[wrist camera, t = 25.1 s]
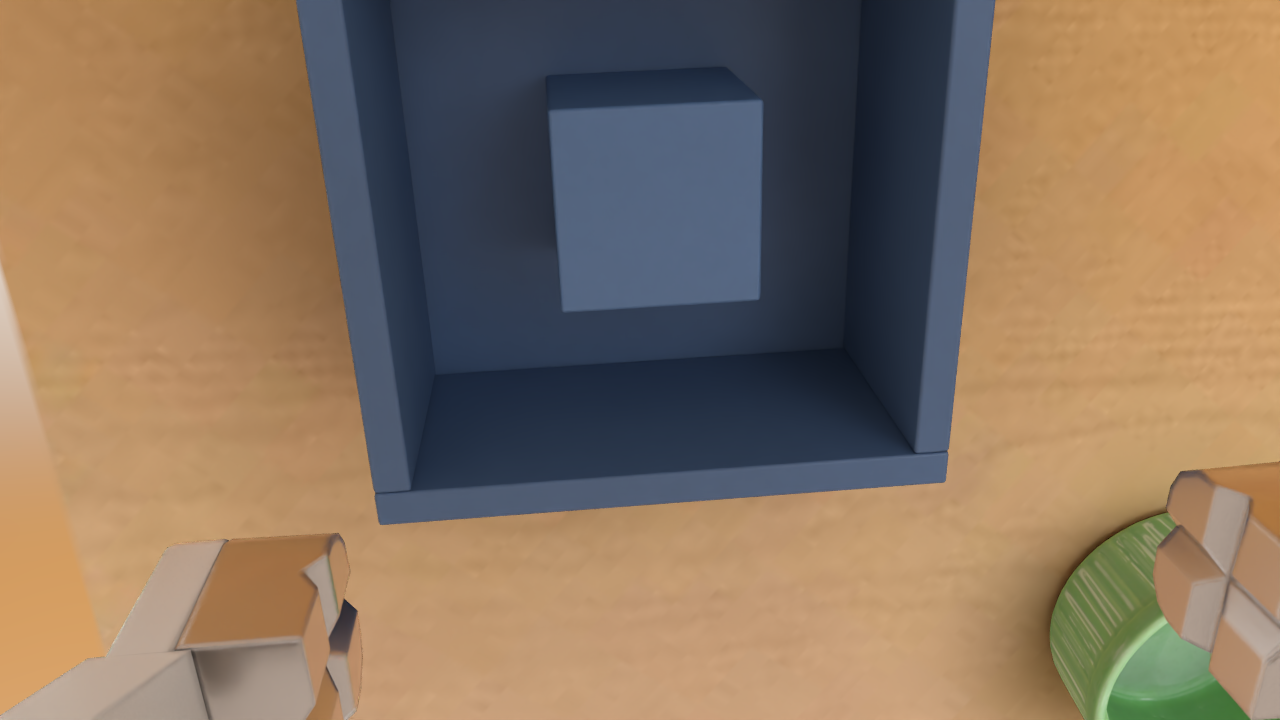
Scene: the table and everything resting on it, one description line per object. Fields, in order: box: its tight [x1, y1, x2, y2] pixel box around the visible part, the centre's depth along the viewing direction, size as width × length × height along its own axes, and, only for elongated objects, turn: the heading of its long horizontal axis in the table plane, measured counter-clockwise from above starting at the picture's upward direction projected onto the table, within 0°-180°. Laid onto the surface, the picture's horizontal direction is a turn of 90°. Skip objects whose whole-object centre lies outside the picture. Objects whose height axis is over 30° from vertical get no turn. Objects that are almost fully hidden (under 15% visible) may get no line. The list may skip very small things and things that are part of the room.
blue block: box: [546, 67, 764, 313], centre depth 24 cm, size 4×4×4 cm
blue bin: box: [296, 0, 995, 525], centre depth 23 cm, size 13×13×7 cm
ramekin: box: [1050, 512, 1280, 720], centre depth 32 cm, size 9×9×4 cm
